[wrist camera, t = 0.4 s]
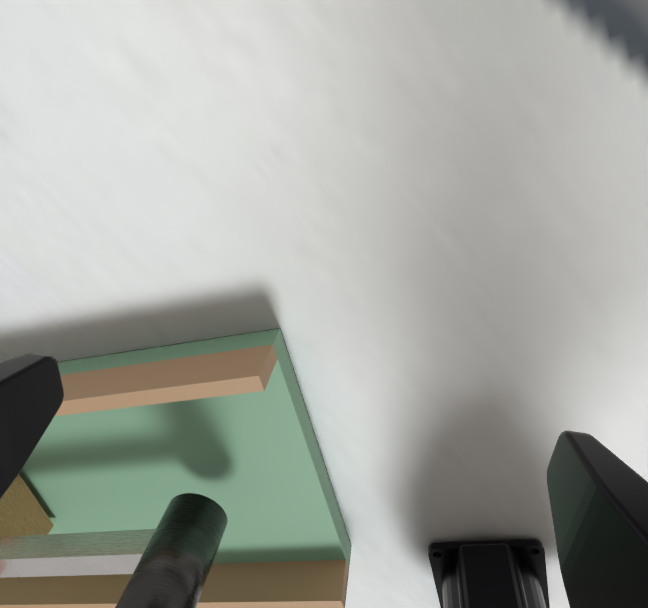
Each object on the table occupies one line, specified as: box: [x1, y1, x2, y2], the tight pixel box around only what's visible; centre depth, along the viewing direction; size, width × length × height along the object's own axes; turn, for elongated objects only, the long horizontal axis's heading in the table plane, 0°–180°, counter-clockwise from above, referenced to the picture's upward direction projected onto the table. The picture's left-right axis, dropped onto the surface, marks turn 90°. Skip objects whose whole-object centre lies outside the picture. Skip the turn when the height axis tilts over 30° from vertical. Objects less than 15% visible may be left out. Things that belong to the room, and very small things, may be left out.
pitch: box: [0, 329, 351, 608], centre depth 30 cm, size 16×31×4 cm, turn 104°
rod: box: [0, 474, 228, 608], centre depth 25 cm, size 5×16×9 cm, turn 104°
